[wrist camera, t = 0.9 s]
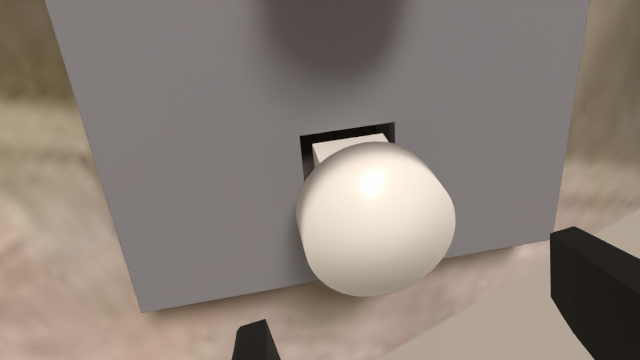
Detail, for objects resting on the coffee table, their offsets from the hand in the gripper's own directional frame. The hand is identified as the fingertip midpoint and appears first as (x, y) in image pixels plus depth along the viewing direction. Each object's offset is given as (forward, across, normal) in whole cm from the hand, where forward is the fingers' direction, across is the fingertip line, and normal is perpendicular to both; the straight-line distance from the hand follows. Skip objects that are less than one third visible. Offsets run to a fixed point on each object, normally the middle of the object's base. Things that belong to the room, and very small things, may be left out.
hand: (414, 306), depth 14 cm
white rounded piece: (+7, 0, 0) cm, 7 cm away
